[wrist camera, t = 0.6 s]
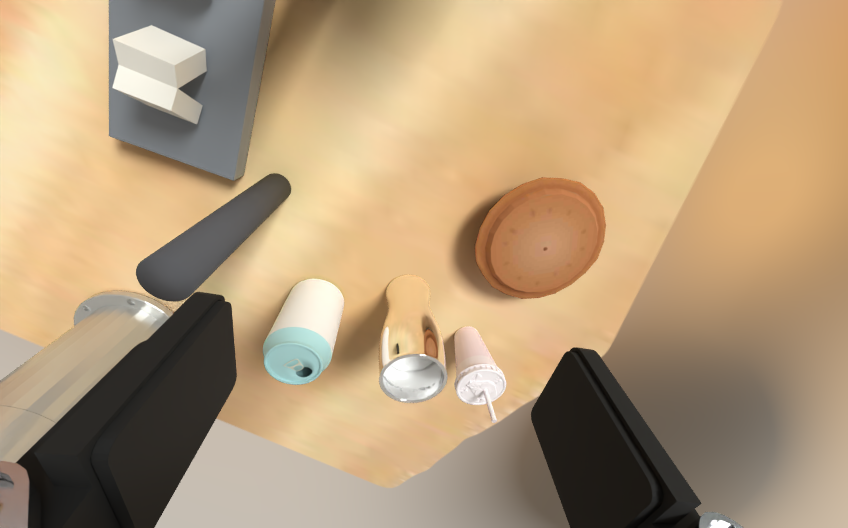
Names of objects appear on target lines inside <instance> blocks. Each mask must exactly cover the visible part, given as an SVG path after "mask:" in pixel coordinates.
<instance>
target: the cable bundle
mask: <svg viewBox="0 0 848 528" xmlns="http://www.w3.org/2000/svg"><path fill="white" fill-rule="evenodd" d="M290 193H291V186H290V183H289V181H288V180H287V179H286V178H285V177H284V176H282V175H280V174H275V173H274V174H269V175H267V176H266V177H264V178H263V179H261V180H260V181H259V182H257V183H256V184H254V185H253V186H251V187H250V188H248V189H247V190H245V191H244V192H242V193H241V194H239V195H238V196H236V197H235V198H234V199H232V200H231V201H229V202H228V203H226V204H225V205H223V206H222V207H220V208H219V209H217V210H216V211H214V212H213V213H211V214H210V215H209V216H207V217H206V218H204V219H203V220H201V221H200V222H198V223H197V224H195V225H194V226H192V227H191V228H189V229H188V230H186V231H185V232H184V233H182V234H181V235H179V236H178V237H176V238H175V239H173V240H172V241H170V242H169V243H167V244H166V245H164V246H163V247H161V248H160V249H159V250H157V251H156V252H154V253H153V254H151V255H150V256H148V257H147V258H145V259H144V260H142V261H141V262H140V263H139V264H138V266H137V269H136V276H137V279H138V281H139V283H140V285H141V286H142V287H143V288H144V289H145V290H146V291H147V292H148V293H150V294H151V295H153V296H155V297H157V298H159V299H162V300H166V301H181V300H184V299H186V298H188V297H189V296H190V295H191V294H192V293H193V292H194V291H195V290H196V289H197V288H198V287H199V286H200V285H201V284H202V283H203V282H204V281H205V280H206V279H207V278H208V277H209V276H210V275H211V274H212V273H213V272H214V271H215V270H216V269H217V268H218V267H219V266H220V265H221V264H222V263H223V262H224V261H225V260H226V259H227V258H228V257H229V256H230V255H231V254H232V253H233V252H234V251H235V250H236V249H237V248H238V247H239V246H240V245H241V244H242V243H243V242H244V241H245V240H246V239H247V238H248V237H249V236H250V235H251V234H252V233H253V232H254V231H255V230H256V229H257V228H258V227H259V226H260V225H261V224H262V223H263V222H264V221H265V220H266V219H267V218H268V217H269V216H270V215H271V214H272V213H273V212H274V211H275V210H276V209H277V208H278V206H279V205H280V204H281V203H282V202H283V201H284V200H285V199H286V198H287V197H288V196H289V195H290Z"/></svg>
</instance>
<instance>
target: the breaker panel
mask: <svg viewBox="0 0 848 528" xmlns="http://www.w3.org/2000/svg"><path fill="white" fill-rule="evenodd" d="M275 1H276V0H109V136H110V137H113V138H116V139H119V140H121V141H124V142H127V143H130V144H132V145H135V146H138V147H141V148H144V149H146V150H149V151H152V152H155V153H158V154H160V155H163V156H166V157H169V158H172V159H174V160H177V161H180V162H183V163H186V164H188V165H191V166H194V167H197V168H200V169H202V170H205V171H208V172H211V173H214V174H216V175H219V176H222V177H225V178H228V179H230V180H233V181H234V180H236V179H238V178H240V177H241V176H243V175H244V172H245V166H246V161H247V155H248V150H249V144H250V139H251V133H252V128H253V122H254V117H255V111H256V105H257V100H258V94H259V89H260V83H261V78H262V72H263V67H264V61H265V56H266V50H267V45H268V39H269V34H270V28H271V23H272V17H273V12H274V6H275ZM151 25H152V26H155V27H157V28H159V29H161V30H164V31H166V32H168V33H170V34H173V35H175V36H177V37H179V38H182V39H184V40H186V41H188V42H191V43H193V44H195V45H197V46H200V47H202V48H204V49H205V50H206V68H207V71H206V72H204V73H203V74H201V75H199V76H198V77H196V78H194V79H193V80H191V81H190V82H188V83H186V84H185V85H183V86H181V87H180V88H178V89H179V90H181V91H182V92H184V93H185V94H187V95H188V96H189V97H191V98H192V99H194V100H195V101H197V102H198V103H200V104H201V105H203V106H202V110H201V113H200V116H199V120H198V123H197V124H194V123H191V122H189V121H186V120H184V119H181V118H179V117H176V116H173V115H171V114H168V113H166V112H163V111H160V110H158V109H155V108H153V107H150V106H148V105H146V104H144V103H142V102H140V101H138V100H136V99H134V98H132V97H130V96H128V95H126V94H124V93H122V92H120V91H118V90H116V89H114V88H112V87H113V84H114V80H115V76H116V72H117V69H118V65H119V64H118V60H117V56H116V52H115V47H114V43H113V39H114V38H117V37H120V36H123V35H125V34H128V33H131V32H134V31H137V30H140V29H142V28H145V27H148V26H151Z"/></svg>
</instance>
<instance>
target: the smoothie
mask: <svg viewBox="0 0 848 528" xmlns="http://www.w3.org/2000/svg"><path fill="white" fill-rule="evenodd" d="M454 342H455V359H456V377H457V378H456V380H455V390H456V393H457V396H458V397H459V399H460V400H462V401H463V402H465V403H467V404H471V405H483V404H487V406H488V410H489V413H490V417H491V420H492V422H493V423H495V422H496V421H497V420H496V417H495V413H494V410H493V407H492V403H491V402H492V401H494V400H496V399H497V398H499V397H500V396H501V395H502V394H503V392H504V391H505V388H506V380H505V376H504V374H503V372H502V371H501V370H500V369H499V368H498V367H497V365H496V364H495V362H494V360H493V358H492V356H491V355H490V353H489V351H488V349H487V347H486V345H485V344H484V342H483V340H482V338H481V336H480V334H479V333H478V331H477V330H476V329H475V328H474V327H470V326H466V327H462V328H460V329H458V330H457V331H456V333H455V335H454Z"/></svg>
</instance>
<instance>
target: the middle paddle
mask: <svg viewBox="0 0 848 528" xmlns="http://www.w3.org/2000/svg"><path fill="white" fill-rule="evenodd" d="M113 43H114V47H115V52H116V56H117V60H118V64H119V65H121V66H123V67H126V68H128V69H130V70H133V71H135V72H138V73H140V74H143V75H145V76H148V77H150V78H153V79H155V80H157V81H160V82H162V83H165V84H167V85H170V86H172V87H175V88H180V87H181V86H183V85H185V84H186V83H188V82H190V81H191V80H193V79H194V78H196V77H198V76H199V75H201V74H203V73H204V72H206V71H207V68H206V50H205V49H204V48H202V47H200V46H197V45H195V44H193V43H191V42H188V41H186V40H184V39H182V38H179V37H177V36H175V35H173V34H170V33H168V32H166V31H164V30H161V29H159V28H157V27H155V26H152V25H151V26H148V27H145V28H142V29H140V30H137V31H134V32H131V33H128V34H125V35H123V36H120V37H117V38H114V39H113Z"/></svg>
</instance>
